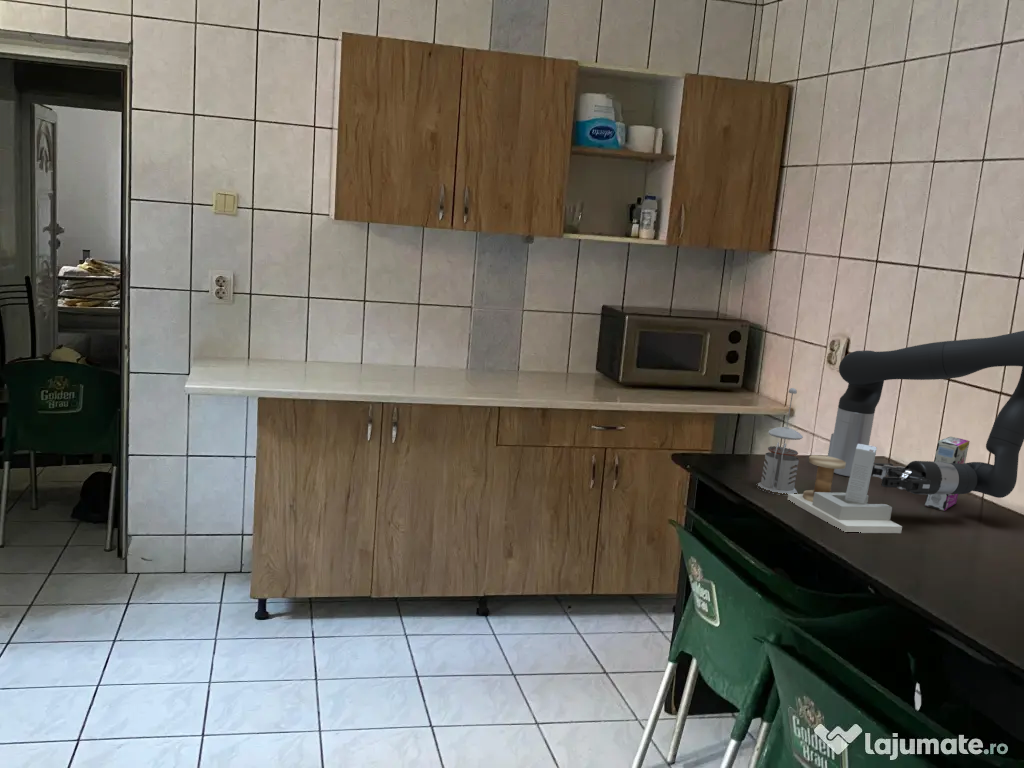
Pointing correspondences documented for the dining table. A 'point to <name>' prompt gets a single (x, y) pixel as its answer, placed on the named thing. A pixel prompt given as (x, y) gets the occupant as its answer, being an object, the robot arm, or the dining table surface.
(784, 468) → the french press
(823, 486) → the bobbin
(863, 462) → the skincare box
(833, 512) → the notched board
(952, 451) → the candy bar box
